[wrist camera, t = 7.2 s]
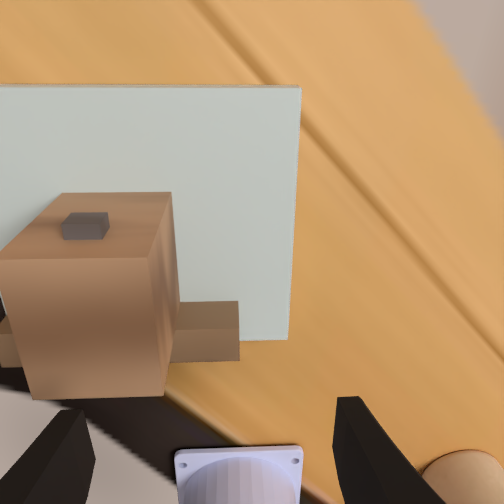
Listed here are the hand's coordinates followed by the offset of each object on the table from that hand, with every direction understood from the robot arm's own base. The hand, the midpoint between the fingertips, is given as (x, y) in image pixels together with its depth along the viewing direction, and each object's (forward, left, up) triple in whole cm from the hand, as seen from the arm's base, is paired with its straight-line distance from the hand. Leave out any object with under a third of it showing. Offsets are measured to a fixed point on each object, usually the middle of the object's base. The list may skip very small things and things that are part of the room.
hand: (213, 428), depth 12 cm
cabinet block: (+1, +4, -9) cm, 10 cm away
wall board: (+2, +3, -10) cm, 11 cm away
